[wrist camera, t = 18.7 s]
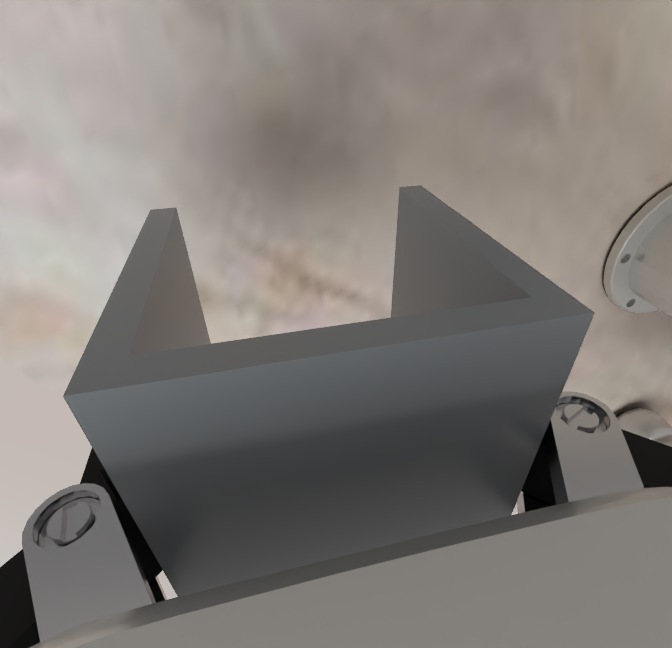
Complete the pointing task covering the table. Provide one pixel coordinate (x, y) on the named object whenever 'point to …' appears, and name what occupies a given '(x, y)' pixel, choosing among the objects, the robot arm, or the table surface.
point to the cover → (324, 404)
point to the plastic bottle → (646, 425)
